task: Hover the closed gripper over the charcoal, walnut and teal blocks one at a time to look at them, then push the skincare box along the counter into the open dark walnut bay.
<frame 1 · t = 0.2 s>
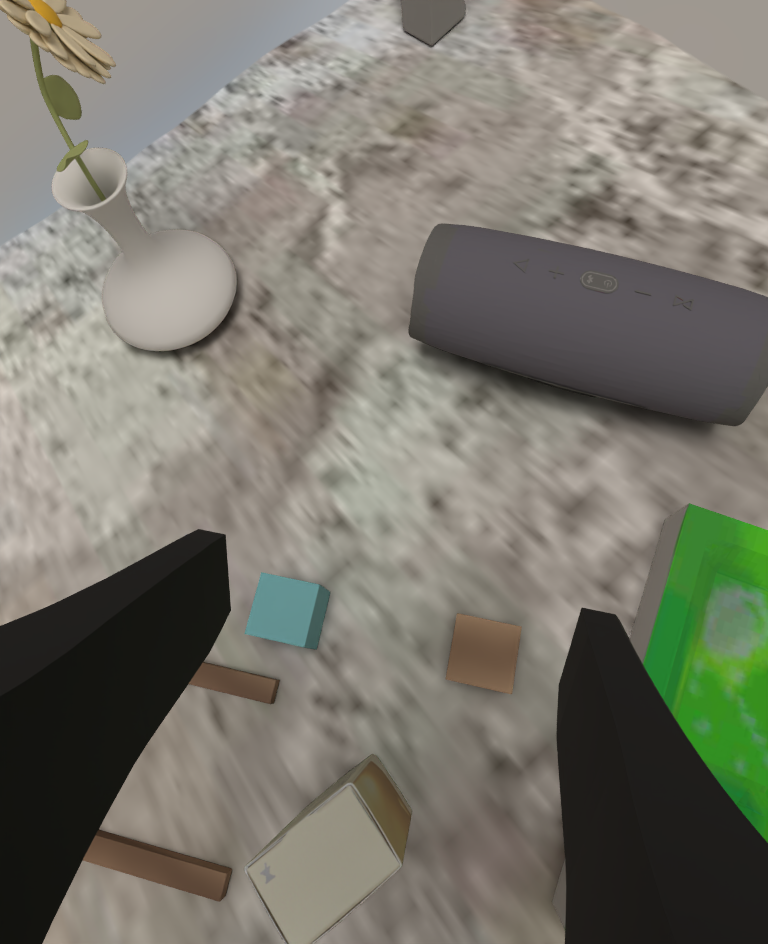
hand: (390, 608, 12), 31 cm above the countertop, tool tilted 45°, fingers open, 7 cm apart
teal block: (296, 614, 43), on the countertop
vintage mobile phone: (434, 27, 59), on the countertop
bluetooth speaker: (568, 360, 47), on the countertop
walnut block: (480, 654, 41), on the countertop
walnut bay: (183, 764, 40), on the countertop
flower in vase: (179, 294, 52), on the countertop
skincare box: (357, 810, 39), on the countertop
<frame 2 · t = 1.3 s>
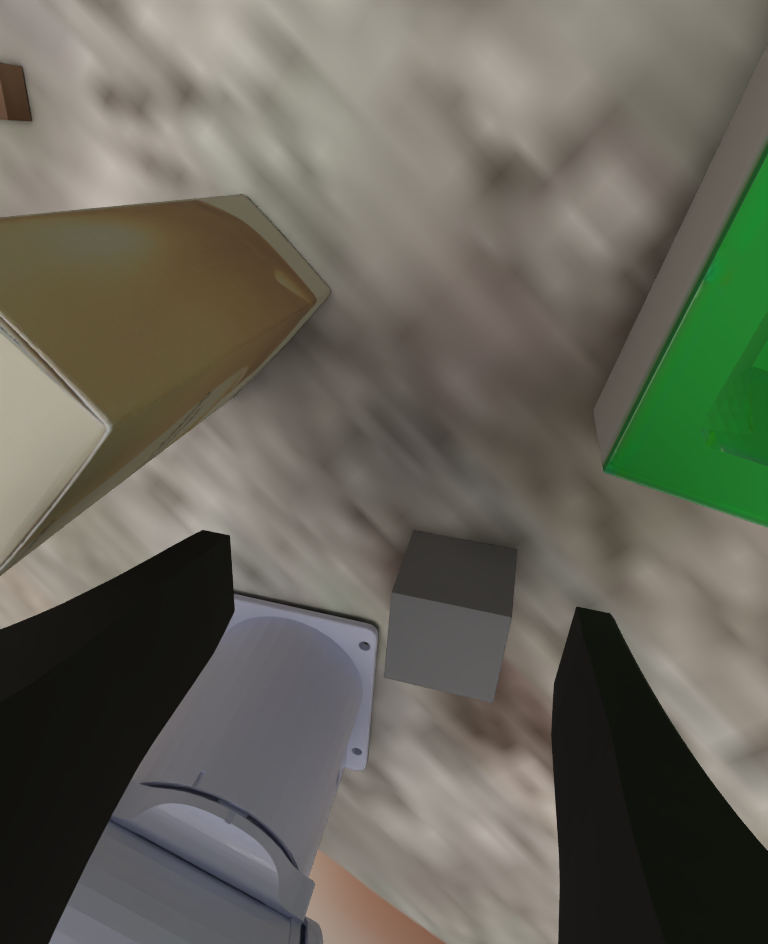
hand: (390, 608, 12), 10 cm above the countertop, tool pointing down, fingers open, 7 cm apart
charcoal block: (458, 579, 24), on the countertop
skincare box: (240, 300, 21), on the countertop
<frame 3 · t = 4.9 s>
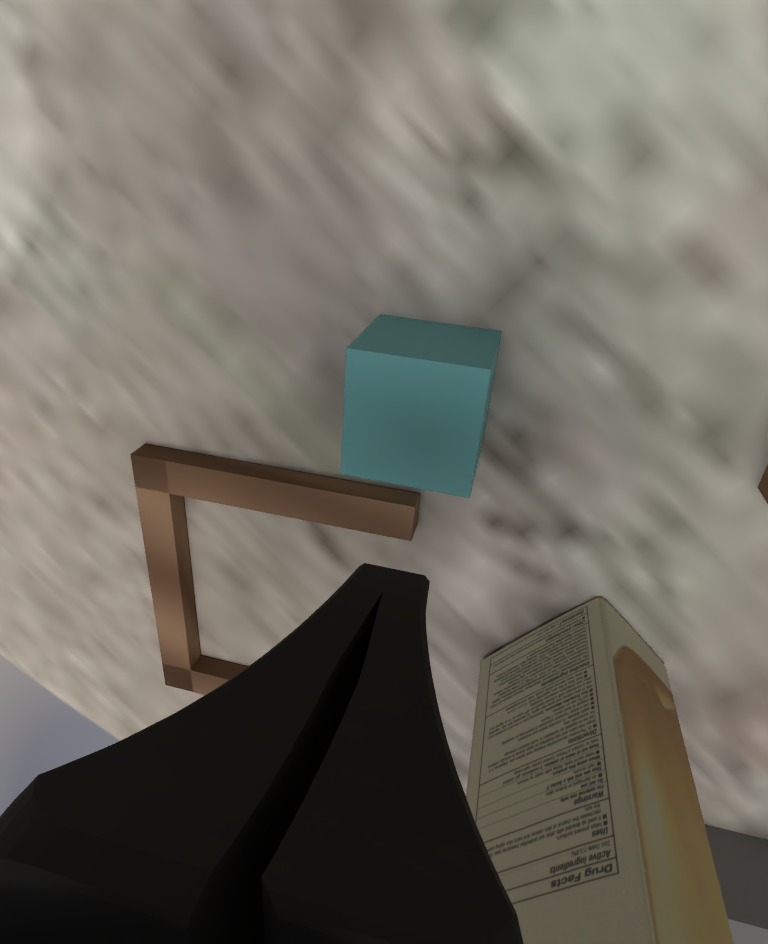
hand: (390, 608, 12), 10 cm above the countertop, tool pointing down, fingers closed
teal block: (433, 379, 21), on the countertop
charcoal block: (723, 856, 28), on the countertop
walnut bay: (295, 598, 27), on the countertop
skincare box: (572, 655, 25), on the countertop
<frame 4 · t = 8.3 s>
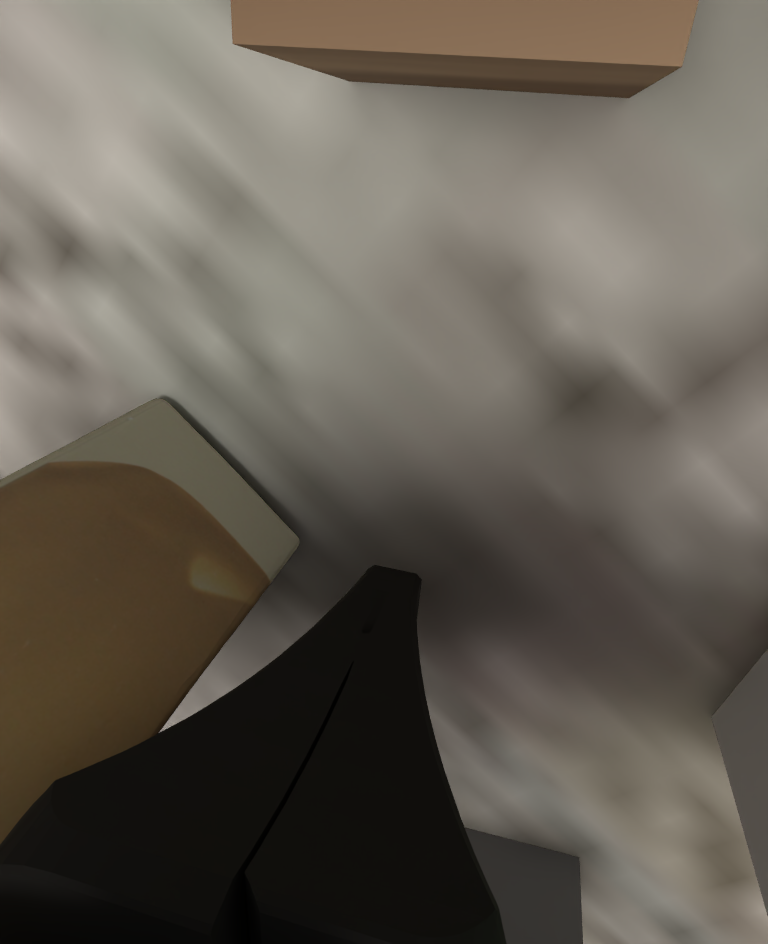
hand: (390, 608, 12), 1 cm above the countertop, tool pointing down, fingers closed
charcoal block: (493, 875, 17), on the countertop
skincare box: (170, 530, 14), on the countertop, touching gripper
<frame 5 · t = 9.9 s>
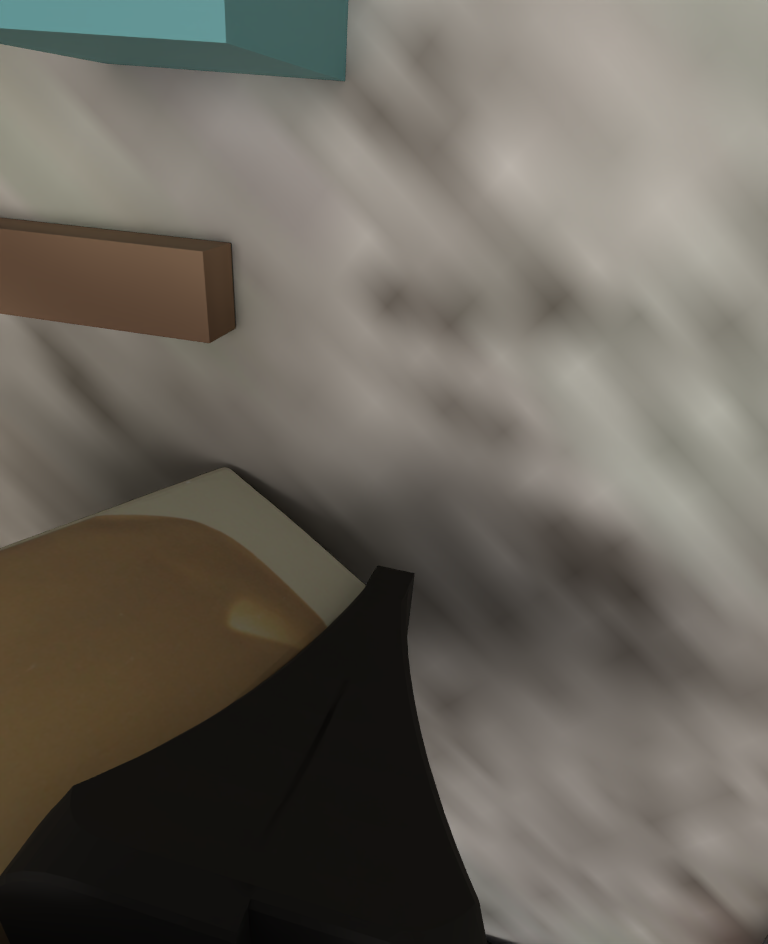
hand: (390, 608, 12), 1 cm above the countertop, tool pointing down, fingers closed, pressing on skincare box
walnut bay: (53, 507, 15), on the countertop
skincare box: (259, 609, 14), on the countertop, touching gripper
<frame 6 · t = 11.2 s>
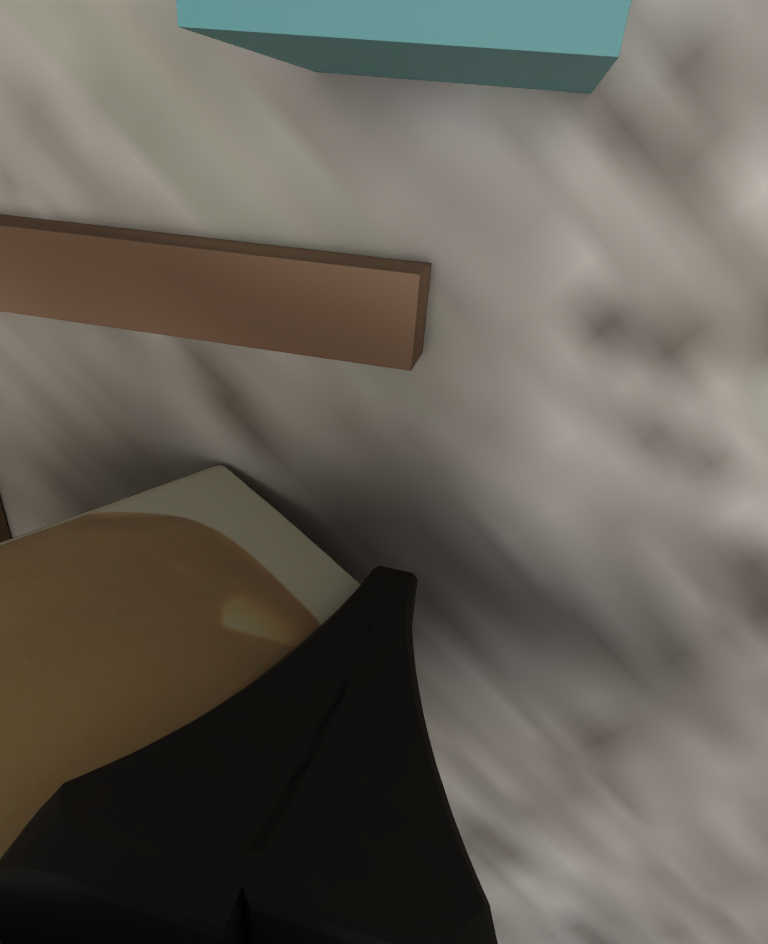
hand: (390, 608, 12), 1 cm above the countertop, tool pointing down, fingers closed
walnut bay: (186, 533, 14), on the countertop
skincare box: (254, 606, 14), on the countertop, touching gripper
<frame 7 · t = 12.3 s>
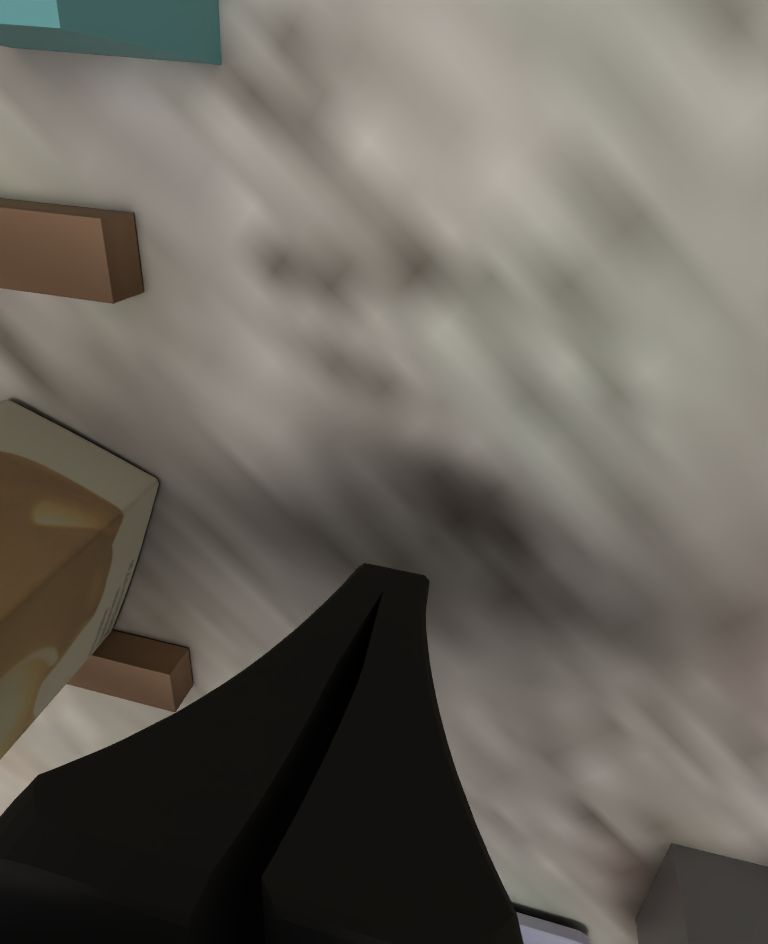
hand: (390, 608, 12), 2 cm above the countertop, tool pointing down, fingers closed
charcoal block: (727, 899, 17), on the countertop
skincare box: (71, 516, 16), on the countertop
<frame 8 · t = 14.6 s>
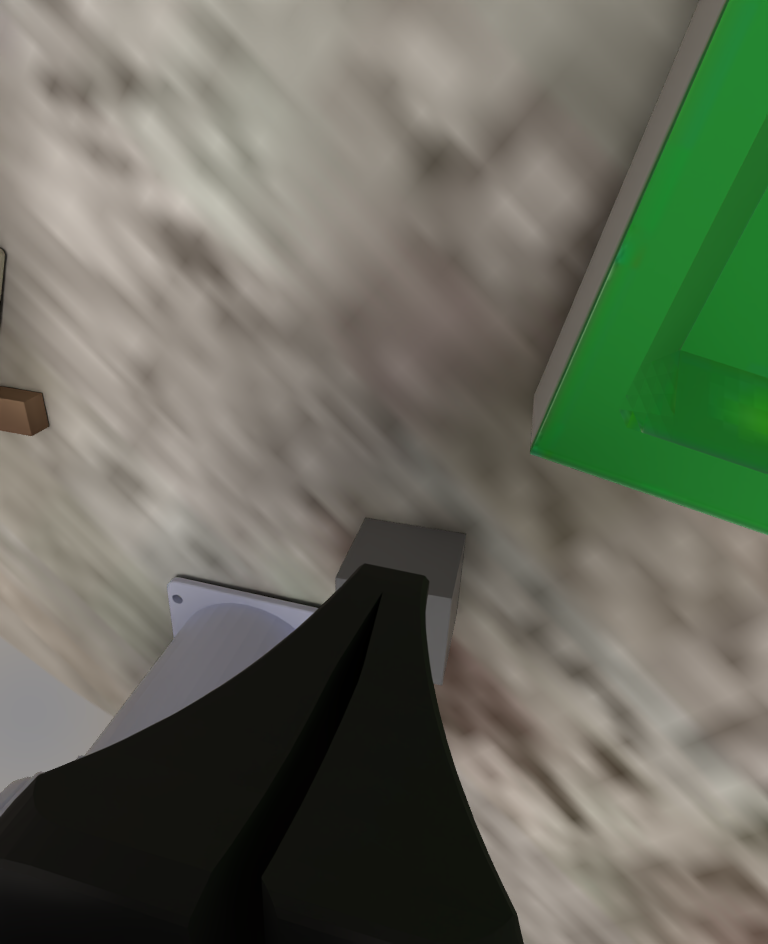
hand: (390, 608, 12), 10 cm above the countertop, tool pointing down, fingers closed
charcoal block: (412, 565, 25), on the countertop
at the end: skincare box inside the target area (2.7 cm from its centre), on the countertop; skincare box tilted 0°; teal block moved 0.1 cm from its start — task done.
